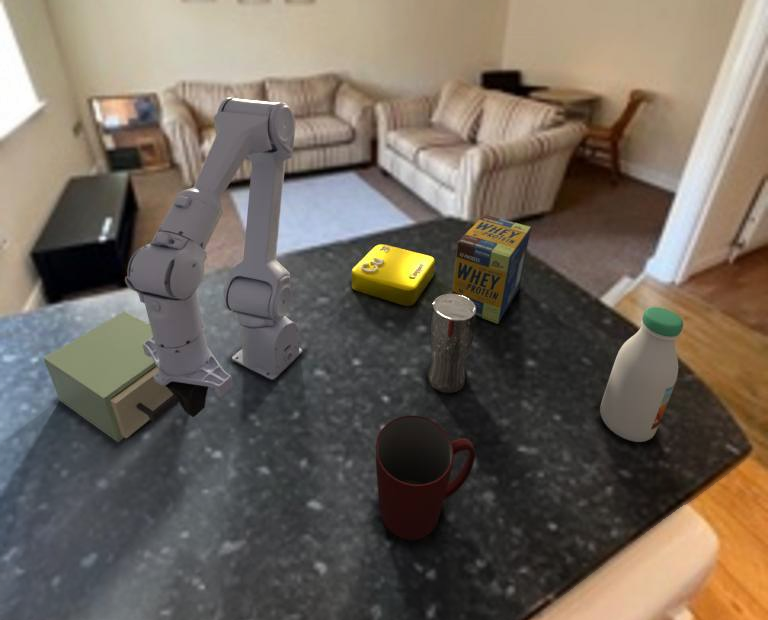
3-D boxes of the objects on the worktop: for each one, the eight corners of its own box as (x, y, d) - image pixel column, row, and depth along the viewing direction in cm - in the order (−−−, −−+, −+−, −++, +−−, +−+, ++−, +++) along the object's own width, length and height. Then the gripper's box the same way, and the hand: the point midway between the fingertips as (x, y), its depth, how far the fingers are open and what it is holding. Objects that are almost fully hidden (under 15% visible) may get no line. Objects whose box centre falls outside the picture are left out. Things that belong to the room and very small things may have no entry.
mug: (454, 464, 61) (462, 406, 56) (480, 532, 53) (492, 471, 49) (368, 481, 59) (369, 421, 54) (382, 555, 51) (385, 493, 46)
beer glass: (471, 371, 76) (482, 300, 70) (460, 401, 71) (470, 326, 64) (433, 358, 79) (440, 288, 73) (419, 386, 73) (425, 312, 67)
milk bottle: (632, 452, 63) (675, 342, 55) (587, 411, 70) (619, 307, 61) (666, 431, 67) (711, 324, 58) (620, 394, 73) (655, 293, 64)
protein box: (449, 307, 93) (456, 241, 86) (476, 272, 105) (484, 213, 98) (498, 325, 88) (510, 257, 81) (521, 287, 100) (532, 225, 93)
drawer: (212, 394, 70) (205, 361, 67) (145, 452, 61) (135, 417, 58) (139, 353, 77) (130, 321, 74) (70, 399, 68) (57, 365, 65)
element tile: (411, 309, 92) (413, 289, 90) (348, 289, 97) (347, 270, 95) (436, 273, 104) (437, 255, 102) (378, 257, 110) (378, 240, 108)
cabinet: (192, 382, 73) (183, 341, 69) (118, 442, 63) (103, 398, 59) (135, 350, 79) (124, 311, 75) (59, 400, 69) (43, 357, 65)
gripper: (112, 330, 56) (135, 408, 61) (192, 375, 49) (210, 458, 55) (162, 300, 61) (179, 374, 67) (240, 338, 55) (251, 416, 61)
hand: (195, 410), depth 61 cm, fingers closed
